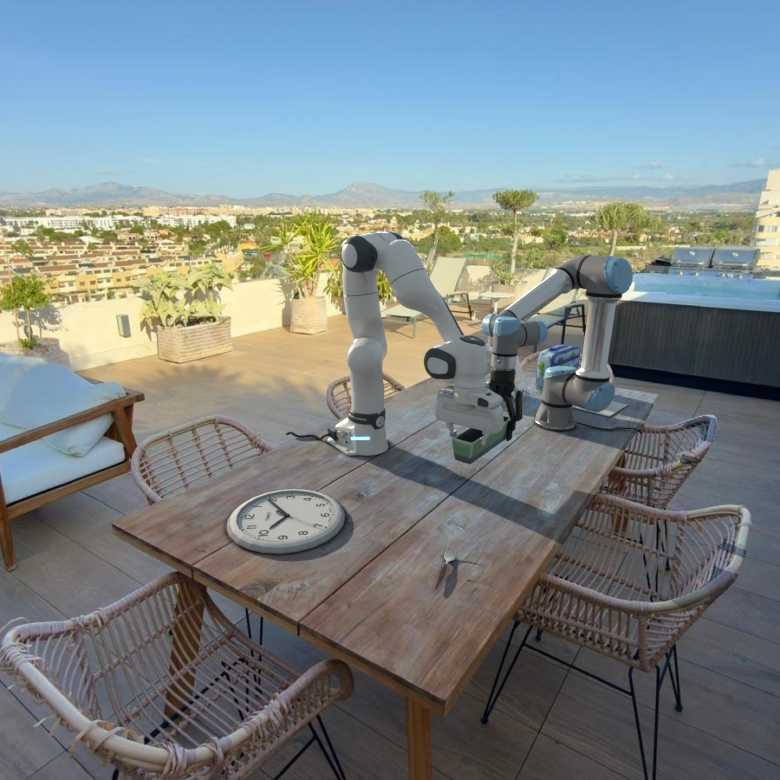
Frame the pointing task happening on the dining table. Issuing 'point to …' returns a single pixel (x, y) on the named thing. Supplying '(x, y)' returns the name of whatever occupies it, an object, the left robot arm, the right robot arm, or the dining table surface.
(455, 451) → the planter
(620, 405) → the invitation card
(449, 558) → the fork
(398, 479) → the dining table surface
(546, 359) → the lunch box
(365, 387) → the left robot arm
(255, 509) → the wall clock
